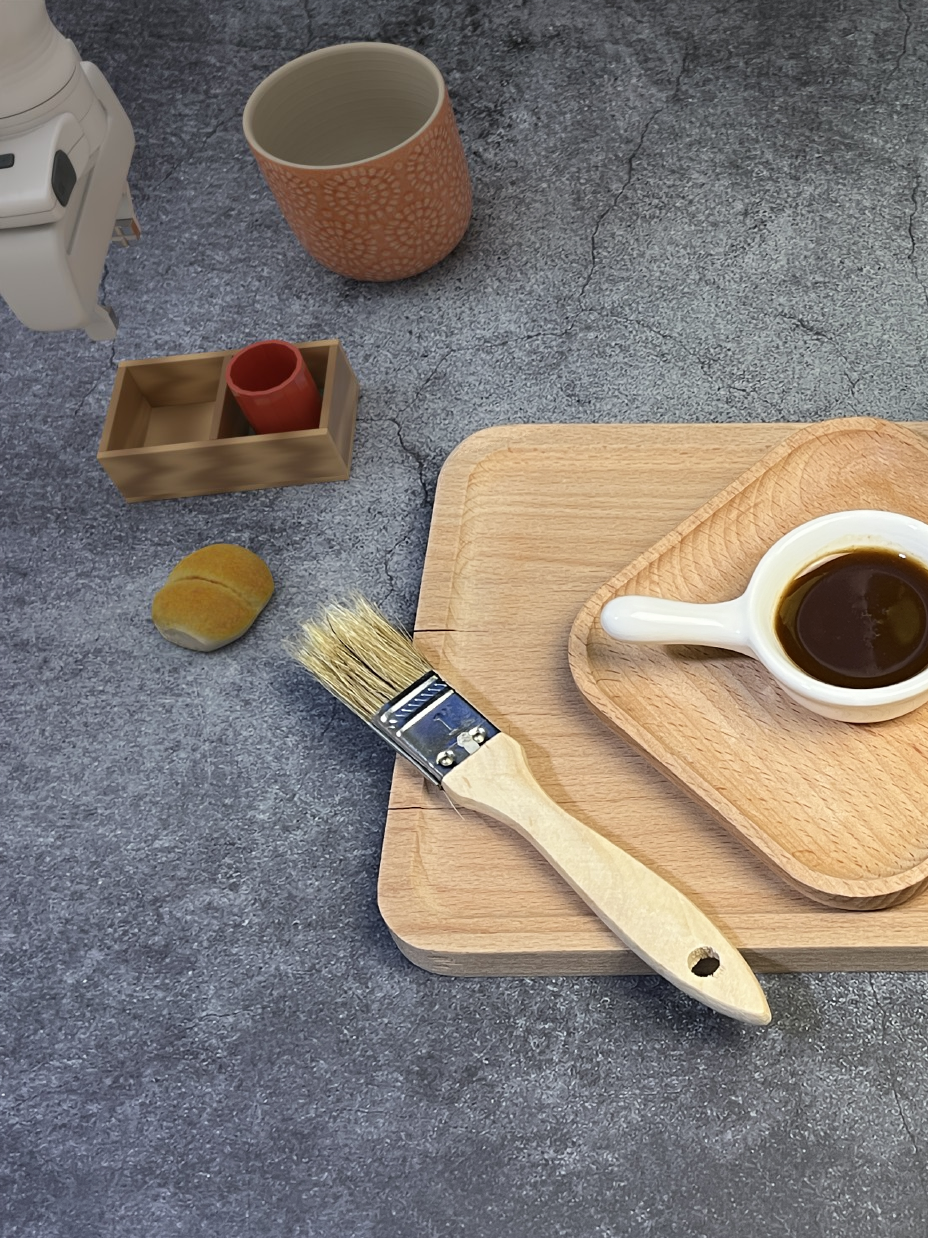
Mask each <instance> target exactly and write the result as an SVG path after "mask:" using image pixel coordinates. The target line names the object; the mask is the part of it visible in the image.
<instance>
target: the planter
mask: <svg viewBox="0 0 928 1238" xmlns="http://www.w3.org/2000/svg"><path fill="white" fill-rule="evenodd" d="M241 123H242V131H243V134H244V138H245V139H246V141H247V144H248V146H249V149H250V151H251V153H252V155H253V157H254V159H255V161H256V163H257V165H258V167H259V169H260V171H261V174H262V175H263V177H264V179H265V181H266V183H267V185H268V187H269V189H270V191H271V194H272V196H273V198H274V200H275V202H276V204H277V205H278V208H279V210H280V211H281V214H282V215H283V217H284V219H285V221H286V222H287V224H288V226H289V228H290V231H292V233H293V234H294V236H295V238H296V239H297V240H298V242H299V243H300V245H301V246H302V248H303V249H304V250H305V251H306V252H307V254H309V255H310V257H311V258H313V260H314V261H316V262H317V263H319V264H320V265H321V266H323V267H324V268H326V269H327V270H329V271H331V272H333V273H335V274H338V275H340V276H343V277H345V278H349V279H353V280H356V281H363V282H373V283H374V282H375V283H377V282H379V283H381V282H393V281H399V280H404V279H409V278H410V277H411V278H412V277H414V276H416V275H419V274H421V273H424V272H425V271H428V270H429V269H431V268H433V267H435V266H436V265H438V264H439V263H440V262H441V261H443V260H444V259H445V258H446V257H447V256H449V254H451V252H452V251H453V250H454V249H455V248H456V247H457V246H458V244H459V243H460V241H461V240H462V239H463V237H464V235H465V233H466V231H467V229H468V226H469V224H470V220H471V218H472V217H471V216H472V211H473V190H472V189H473V188H472V181H471V175H470V171H469V166H468V161H467V157H466V152H465V149H464V145H463V141H462V137H461V134H460V131H459V127H458V124H457V121H456V117H455V112H454V109H453V105H452V103H451V98H450V94H449V91H448V88H447V85H446V82H445V79H444V76H443V74H442V72H441V71H440V69H439V68H438V66H437V65H435V63H434V62H433V61H432V60H430V59H429V58H428V57H427V56H425V55H424V54H422V53H420V52H418V51H416V50H414V49H412V48H409V47H406V46H402V45H400V44H399V45H398V44H395V43H390V42H389V43H388V42H379V41H359V42H349V43H341V44H337V45H331V46H327V47H324V48H320V49H316V50H313V51H311V52H309V53H305V54H303V55H300V56H298V57H296V58H295V59H292V60H290V61H289V62H286V63H285V64H283V65H282V66H281V67H279V68H277V69H276V70H274V71H273V72H272V73H270V74H269V75H268V76H267V77H266V78H265V79H263V81H262V82H261V83H259V84H258V85H257V86H256V87H255V89H254V90H253V92H252V94H251V95H250V96H249V98H248V99H247V102H246V104H245V106H244V110H243V113H242V121H241Z"/></svg>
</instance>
